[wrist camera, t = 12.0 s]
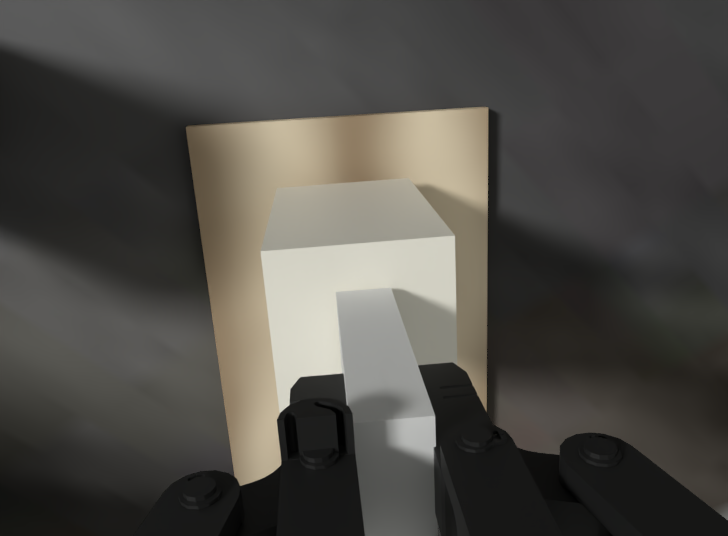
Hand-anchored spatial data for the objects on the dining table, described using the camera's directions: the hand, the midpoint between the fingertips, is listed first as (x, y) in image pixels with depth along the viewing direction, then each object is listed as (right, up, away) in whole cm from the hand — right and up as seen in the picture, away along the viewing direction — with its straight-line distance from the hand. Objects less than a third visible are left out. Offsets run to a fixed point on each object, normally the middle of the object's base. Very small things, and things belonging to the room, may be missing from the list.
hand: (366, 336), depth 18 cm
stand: (-1, -1, +12) cm, 12 cm away
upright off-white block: (-1, +3, +8) cm, 9 cm away
